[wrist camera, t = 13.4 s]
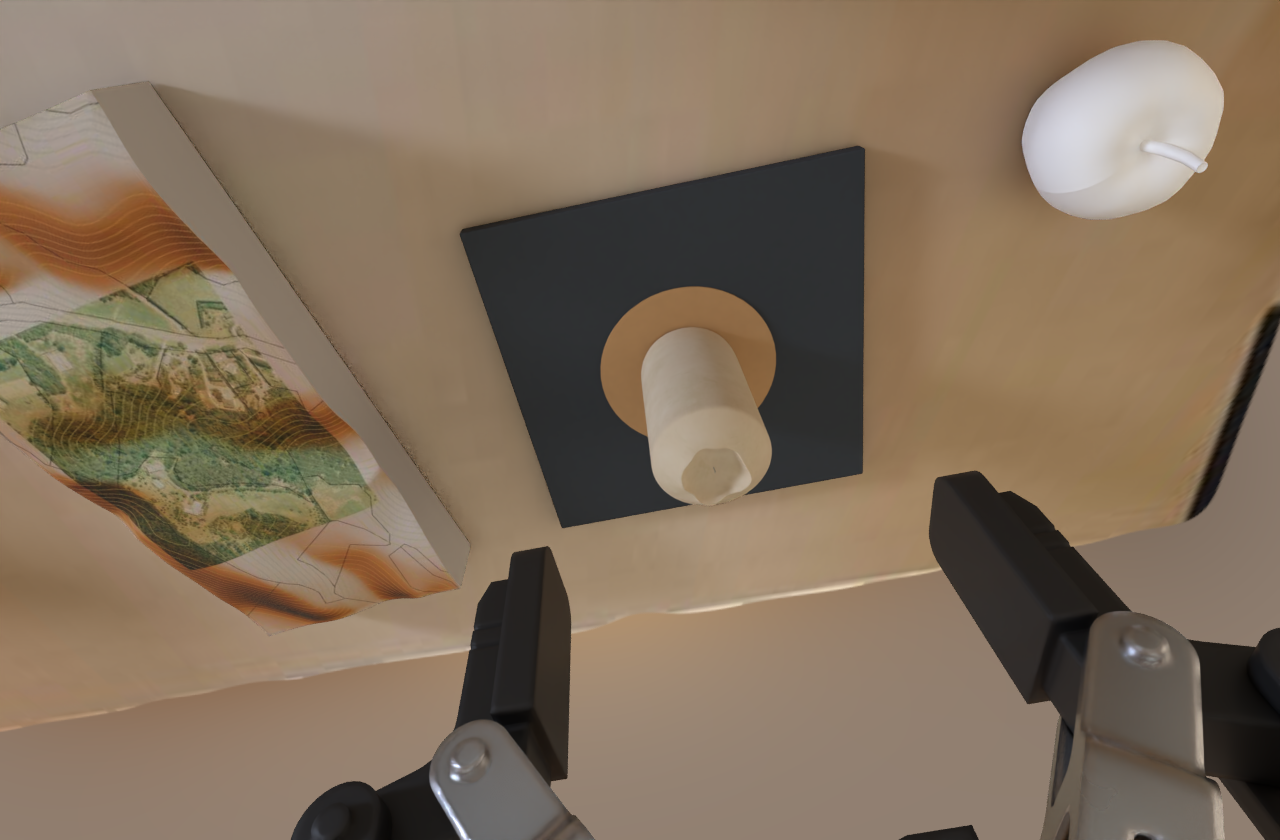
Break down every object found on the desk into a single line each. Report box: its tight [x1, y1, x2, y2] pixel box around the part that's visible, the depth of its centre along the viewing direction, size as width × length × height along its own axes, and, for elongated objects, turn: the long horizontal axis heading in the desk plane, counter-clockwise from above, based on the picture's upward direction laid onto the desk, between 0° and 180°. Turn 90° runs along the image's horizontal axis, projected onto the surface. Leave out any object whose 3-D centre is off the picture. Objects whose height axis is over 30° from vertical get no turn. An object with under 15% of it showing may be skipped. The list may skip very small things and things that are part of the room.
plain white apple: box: [1022, 40, 1224, 220], centre depth 27 cm, size 7×7×8 cm
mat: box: [460, 146, 865, 528], centre depth 36 cm, size 20×20×1 cm
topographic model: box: [0, 81, 471, 636], centre depth 34 cm, size 30×14×5 cm, turn 19°
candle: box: [641, 327, 772, 506], centre depth 31 cm, size 6×6×10 cm
